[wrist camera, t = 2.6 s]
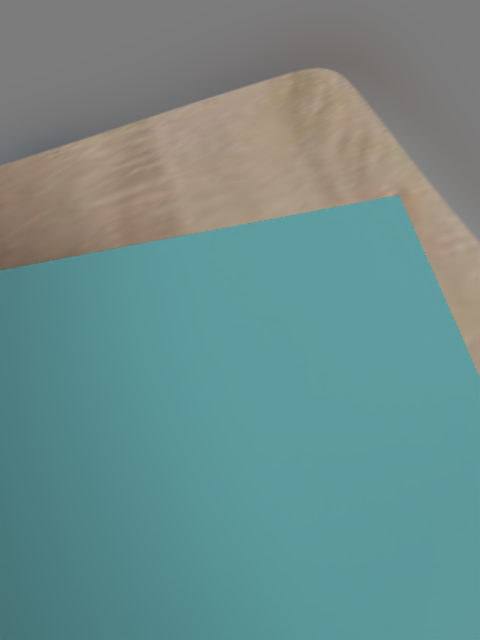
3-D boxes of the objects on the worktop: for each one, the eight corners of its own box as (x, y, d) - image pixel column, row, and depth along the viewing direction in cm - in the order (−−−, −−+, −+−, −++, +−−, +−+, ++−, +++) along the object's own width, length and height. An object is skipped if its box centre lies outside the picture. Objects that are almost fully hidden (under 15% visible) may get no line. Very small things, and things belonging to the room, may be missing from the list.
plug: (358, 575, 13) (690, 848, 2) (229, 591, 14) (-156, 908, 2) (328, 441, 15) (399, 195, 4) (218, 457, 16) (-3, 270, 4)
